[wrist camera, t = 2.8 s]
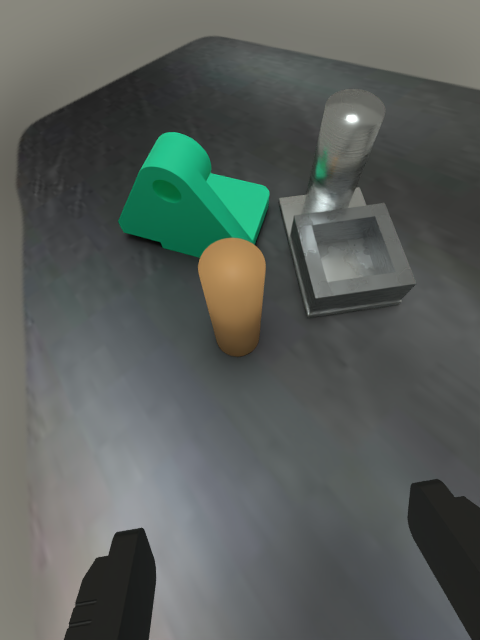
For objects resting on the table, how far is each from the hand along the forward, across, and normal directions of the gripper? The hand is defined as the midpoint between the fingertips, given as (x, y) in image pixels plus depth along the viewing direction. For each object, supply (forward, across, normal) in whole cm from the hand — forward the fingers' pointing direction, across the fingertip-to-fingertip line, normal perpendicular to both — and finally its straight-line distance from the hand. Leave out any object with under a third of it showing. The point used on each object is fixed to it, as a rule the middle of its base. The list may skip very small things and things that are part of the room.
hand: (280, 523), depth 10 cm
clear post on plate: (+23, -10, -2) cm, 26 cm away
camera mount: (+28, +2, -6) cm, 28 cm away
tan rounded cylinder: (+19, 0, +2) cm, 19 cm away
